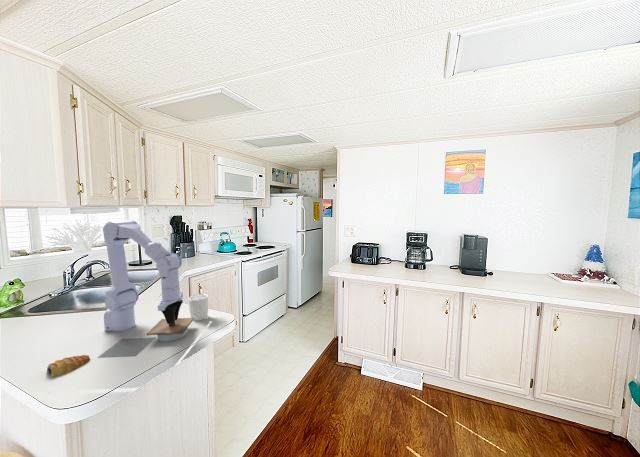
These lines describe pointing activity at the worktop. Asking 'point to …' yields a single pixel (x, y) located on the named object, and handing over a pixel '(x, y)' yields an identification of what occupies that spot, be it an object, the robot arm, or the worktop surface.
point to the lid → (171, 326)
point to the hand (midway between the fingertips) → (172, 321)
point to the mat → (127, 347)
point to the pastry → (66, 365)
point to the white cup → (198, 306)
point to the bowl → (171, 336)
